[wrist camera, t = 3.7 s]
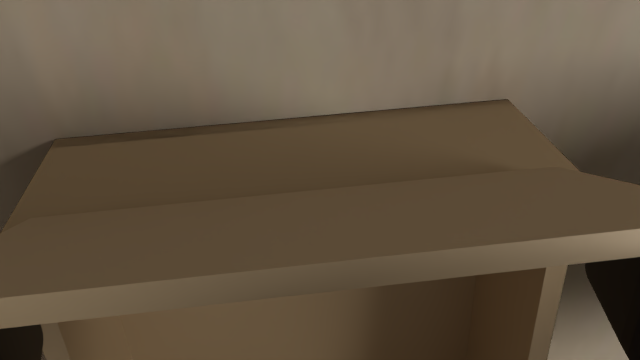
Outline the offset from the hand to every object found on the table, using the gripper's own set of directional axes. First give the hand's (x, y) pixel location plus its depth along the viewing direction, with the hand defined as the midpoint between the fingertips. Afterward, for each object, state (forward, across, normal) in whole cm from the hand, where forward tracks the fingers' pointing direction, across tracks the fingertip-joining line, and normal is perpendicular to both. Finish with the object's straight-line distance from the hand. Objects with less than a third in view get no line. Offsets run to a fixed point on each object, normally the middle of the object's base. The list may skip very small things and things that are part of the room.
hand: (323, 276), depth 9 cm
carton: (+10, 0, +8) cm, 13 cm away
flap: (+2, 0, 0) cm, 2 cm away
